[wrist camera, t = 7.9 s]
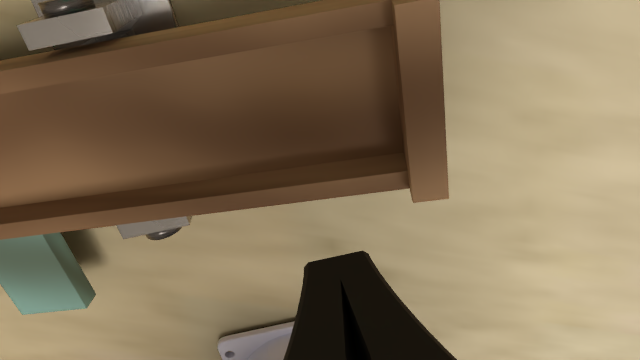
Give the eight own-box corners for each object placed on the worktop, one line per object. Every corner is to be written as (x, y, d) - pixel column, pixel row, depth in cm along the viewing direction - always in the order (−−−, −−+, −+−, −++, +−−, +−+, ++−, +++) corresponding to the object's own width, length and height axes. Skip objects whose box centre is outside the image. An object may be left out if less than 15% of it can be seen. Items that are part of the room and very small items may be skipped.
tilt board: (439, 258, 17) (454, 313, 15) (-17, 306, 20) (-67, 359, 18) (421, -19, 12) (438, -3, 10) (-179, 93, 15) (-278, 127, 13)
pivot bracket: (229, 182, 19) (221, 232, 16) (130, 203, 19) (102, 258, 16) (159, -33, 15) (130, -24, 12) (32, -7, 15) (-33, 10, 12)
